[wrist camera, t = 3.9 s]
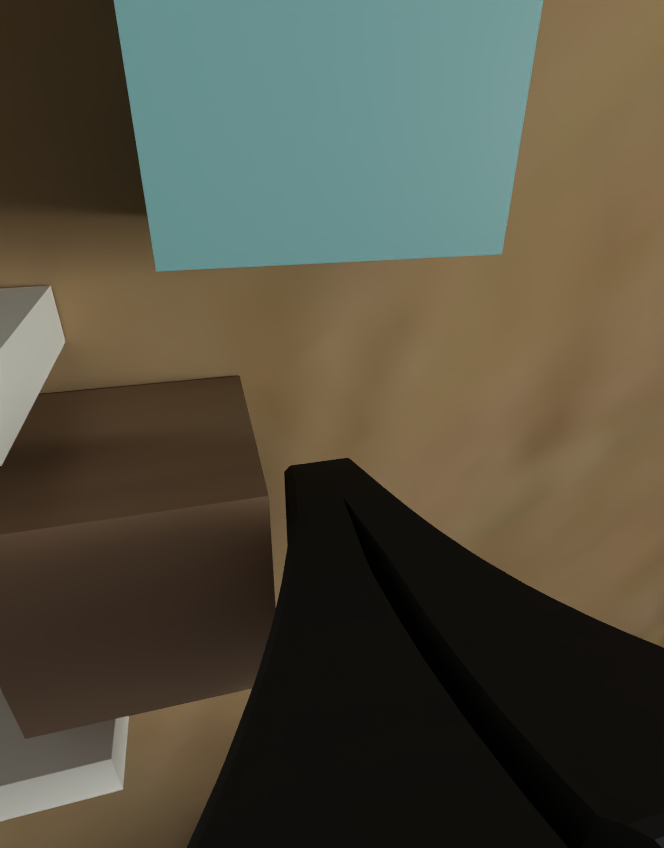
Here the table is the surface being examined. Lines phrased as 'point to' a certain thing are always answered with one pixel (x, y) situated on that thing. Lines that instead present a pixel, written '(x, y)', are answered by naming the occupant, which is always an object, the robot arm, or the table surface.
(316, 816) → the robot arm
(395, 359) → the table surface
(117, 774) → the white divided tray
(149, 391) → the block walnut
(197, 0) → the block teal
